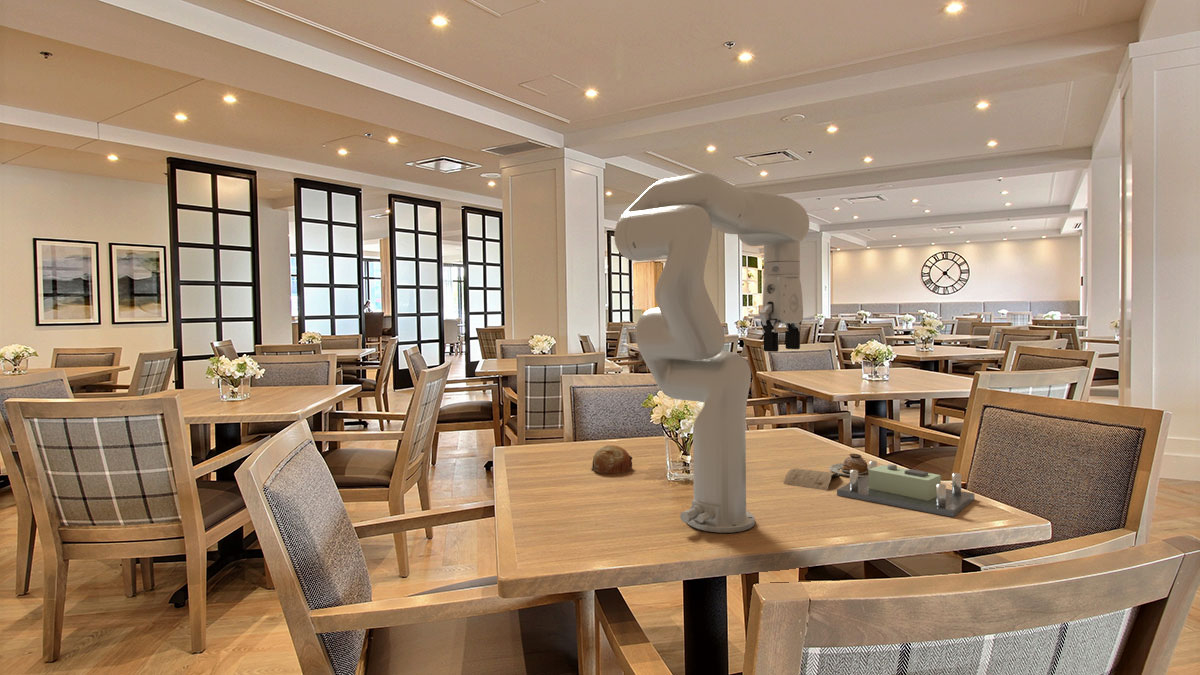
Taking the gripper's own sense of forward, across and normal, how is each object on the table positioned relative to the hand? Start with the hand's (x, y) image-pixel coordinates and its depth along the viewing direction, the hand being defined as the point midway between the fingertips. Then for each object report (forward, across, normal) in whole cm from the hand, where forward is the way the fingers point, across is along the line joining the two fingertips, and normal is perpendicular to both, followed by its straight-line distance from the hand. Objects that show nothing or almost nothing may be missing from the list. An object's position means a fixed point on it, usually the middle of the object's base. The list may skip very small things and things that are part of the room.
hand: (782, 350), depth 137 cm
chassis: (+30, +10, -22) cm, 39 cm away
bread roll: (+31, -12, +40) cm, 52 cm away
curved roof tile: (+31, +10, -2) cm, 33 cm away
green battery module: (+29, +10, -22) cm, 38 cm away
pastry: (+31, +24, -7) cm, 40 cm away
